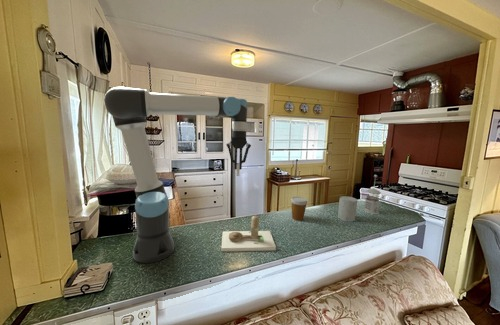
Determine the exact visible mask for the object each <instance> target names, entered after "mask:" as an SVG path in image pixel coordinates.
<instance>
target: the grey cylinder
mask: <svg viewBox="0 0 500 325" xmlns="http://www.w3.org/2000/svg"><path fill="white" fill-rule="evenodd" d="M357 205H358V199H357V198H355V197H353V196H347V195H342V196H341V195H340V196H339V202H338V211H337V219H339V218H340V219H341V221H343V220H344V222H347V221H348V222H347V223H352V222H353V221H354V222H355V221H356V214H357ZM340 219H339V220H340Z"/></svg>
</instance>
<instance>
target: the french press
mask: <svg viewBox="0 0 500 325" xmlns="http://www.w3.org/2000/svg"><path fill="white" fill-rule="evenodd" d="M373 177H374V179H376V178H378V175H377V174H374V175H373ZM373 182H374V184H373V187H375V185H376V181H373ZM366 192H367V193H368V194H372V195H367V196H366V198H365V203H364V208H363V209H362V210H364V211H365V212H364V211H363V212H364V213H366V212H367V213H366V214H368V213H371V214H370V215H373V214H378V213H379V214H380V211H379V207H380V206H381V204H382V202H380V201H382V198H381V195H380V194H381V191H380V190H378V189H376V188H369V189H366ZM374 195H375V196H374ZM376 195H378V196H376ZM379 214H378V215H379Z"/></svg>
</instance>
